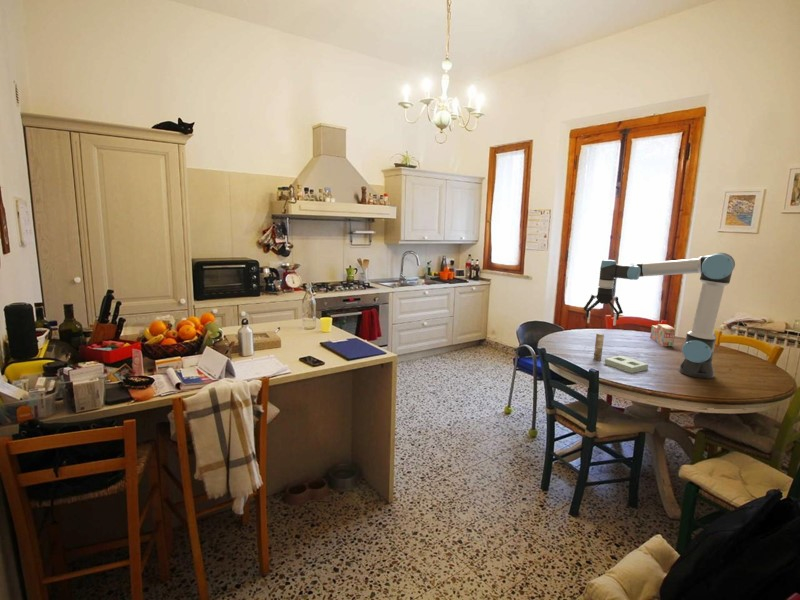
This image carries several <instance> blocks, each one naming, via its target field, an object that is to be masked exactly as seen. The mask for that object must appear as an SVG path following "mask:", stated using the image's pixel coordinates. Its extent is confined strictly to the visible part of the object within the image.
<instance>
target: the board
mask: <svg viewBox="0 0 800 600" xmlns="http://www.w3.org/2000/svg"><path fill="white" fill-rule="evenodd" d="M604 365H607V366H610V367H613V368H616V369H619V370H621V371H625V372H627V373H631V374H633V373H637V372H642V371H646V370H648V369H649V363H646V362H643V361H640V360H636V359H633V358H630V357H628V356H624V355H618V356H612V357H607V358H605V359H604Z"/></svg>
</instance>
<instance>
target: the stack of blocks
mask: <svg viewBox="0 0 800 600" xmlns="http://www.w3.org/2000/svg"><path fill="white" fill-rule="evenodd" d="M675 335H676V328H674V327H673V326H671V325H669V324H661V323H657V324H656V325H653V324H652V325H651V329H650V337H649V338H651V340H653V341H654V342H656V343H657V344H658V345H660V346H662V347H667V346H672V347H671V348H673V347H674V340H675Z"/></svg>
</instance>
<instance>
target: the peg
mask: <svg viewBox="0 0 800 600" xmlns="http://www.w3.org/2000/svg"><path fill="white" fill-rule="evenodd" d="M595 334H596V335H595V344H594V353H593V360H594V361H602V355H603V345H604V339H605V334H603V333H595Z"/></svg>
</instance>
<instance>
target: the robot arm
mask: <svg viewBox="0 0 800 600" xmlns="http://www.w3.org/2000/svg"><path fill="white" fill-rule="evenodd" d="M735 266H736V262H735V259H734V258H733V257H732V255H731V254H728V253H726V252H717V253H713V254H709V255H700V256H699V257H698V258H688V259H676V260H661V261H653V262H652V261H651V262H642V263H641V262H640V263H639V262H638V263H630V264H618V263H617V261H616V260H613V259H603V260H602V261H601V264H600V269H599V278H598V287H597V294H596V295H595V294H591V295H590V298H589V300H588V301H587V302H586V304H585V305H584V307H583V308H582V309H583V311H586V312H585V313H586V314H585V317H586V318H587V320H586V321H587V324H590V319H591V313H592V312H591V310H593V309H594V308H595V307H596V306H597V305H599V304H600V305H601V304H603V305H607V304H608V305H609V306H610V307H611V308H612V309H613V311H614V312H615V313H614V314H613V320H612V321H613V323H612V325H613V326H616V325H617V320H619V316H620V315H621V314H623V313H624V312H623V310H622V306H621V304H620V301H619V297H618V296H617V295H615V296H613V290H614V289H613V287H614V283H615V278H616V279H625V280H630V281H631V280H633V281H634V280H636V281H637V280H639V278H640V277H641V278H643V277H655V276H671V275H672V276H673V275H688V274H689V275H690V274H700V276H699V277H700V278H699V280H700V281H701V283H702V285H701V289H700V293H699V296H698V297H699V298H698V302H697V306H696V310H695V314H694V318H693V323H692V326H691V329H690V330H688V331H687V332H686V335H685V339H684V344H682V347H681V352H682V355H683V356H684V359H683V360H682V362H681V364H680V365H679V368H678V369H679V370H678V371H679V372H680V373H681V374H683V375H686V376H690V377H693V378H699V379H713V378H715V377H714V376H715V369H714V366H713V357H714V350H715V347H716V346H715V345H716V341H717V334H715V333H713V332H714V329H715V325H716V322H717V319H718V315H719V314H718V313H719V309H720V305H721V302H722V298H723V294H724V290H725V287H726V286H728V285H729V284H730V283H731V278H732V275H733V274H732V273H733V271H734V270H735ZM594 299H596V301H594V302H593V300H594ZM612 300H613V301H615V304H616V306H617V308H616V307H615V305H614V303H612V302H611V301H612ZM592 302H593V304H591V303H592Z"/></svg>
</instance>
